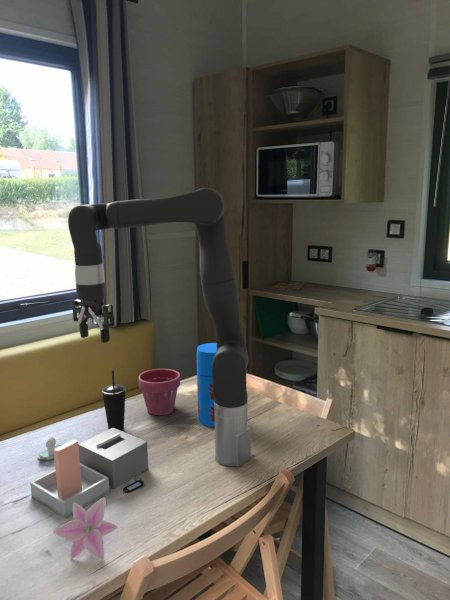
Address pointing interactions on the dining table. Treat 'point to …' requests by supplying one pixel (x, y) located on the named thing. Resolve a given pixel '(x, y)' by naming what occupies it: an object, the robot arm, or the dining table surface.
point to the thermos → (205, 384)
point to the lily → (87, 529)
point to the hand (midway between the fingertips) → (94, 339)
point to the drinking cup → (114, 404)
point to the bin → (90, 491)
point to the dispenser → (115, 455)
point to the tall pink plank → (67, 469)
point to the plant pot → (159, 390)
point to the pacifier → (49, 450)
